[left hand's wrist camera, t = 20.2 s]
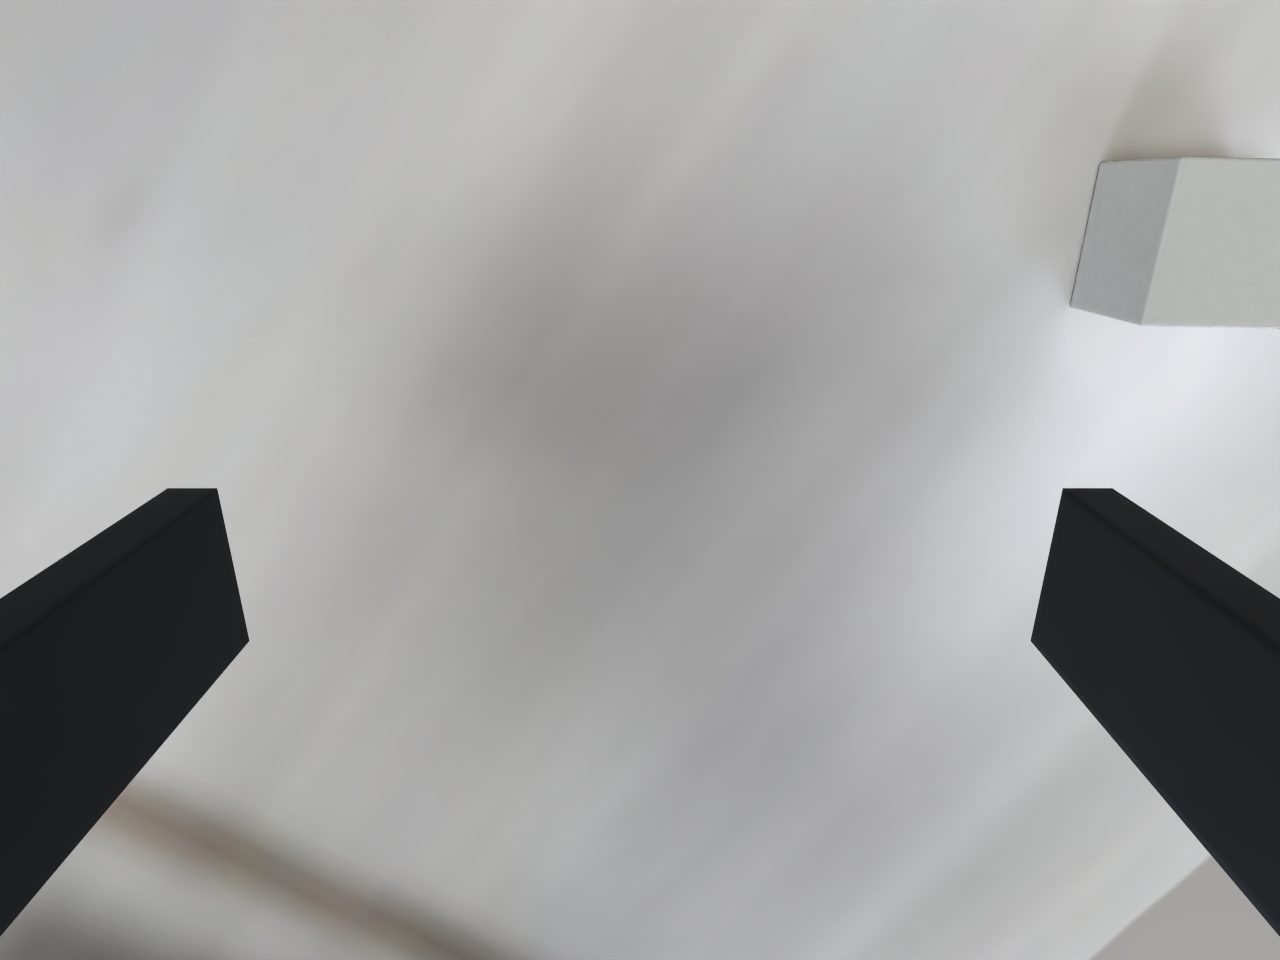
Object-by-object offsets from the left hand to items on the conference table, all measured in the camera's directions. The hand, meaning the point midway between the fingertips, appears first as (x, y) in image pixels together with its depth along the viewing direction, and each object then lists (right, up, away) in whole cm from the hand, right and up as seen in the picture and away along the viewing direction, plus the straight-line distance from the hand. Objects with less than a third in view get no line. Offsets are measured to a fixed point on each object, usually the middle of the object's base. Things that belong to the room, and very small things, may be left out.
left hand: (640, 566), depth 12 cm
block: (+18, +10, +15) cm, 25 cm away
